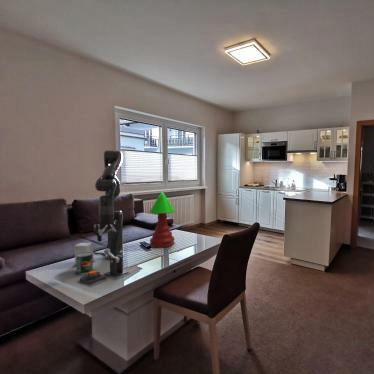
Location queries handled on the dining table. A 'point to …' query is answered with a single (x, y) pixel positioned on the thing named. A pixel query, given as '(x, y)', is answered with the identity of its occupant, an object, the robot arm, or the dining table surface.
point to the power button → (92, 272)
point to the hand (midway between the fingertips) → (106, 239)
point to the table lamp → (162, 223)
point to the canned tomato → (84, 262)
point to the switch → (107, 251)
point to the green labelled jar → (83, 249)
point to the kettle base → (116, 267)
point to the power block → (92, 278)
